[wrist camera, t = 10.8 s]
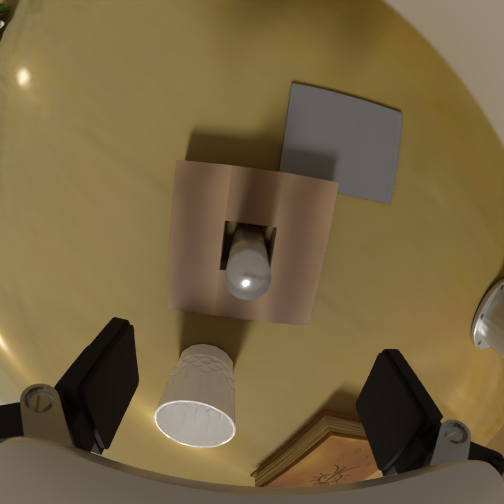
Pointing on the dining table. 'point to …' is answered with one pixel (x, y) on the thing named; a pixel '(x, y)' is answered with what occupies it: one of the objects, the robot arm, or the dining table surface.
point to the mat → (342, 142)
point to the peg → (248, 265)
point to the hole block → (251, 212)
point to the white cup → (199, 399)
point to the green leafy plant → (3, 8)
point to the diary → (321, 455)
